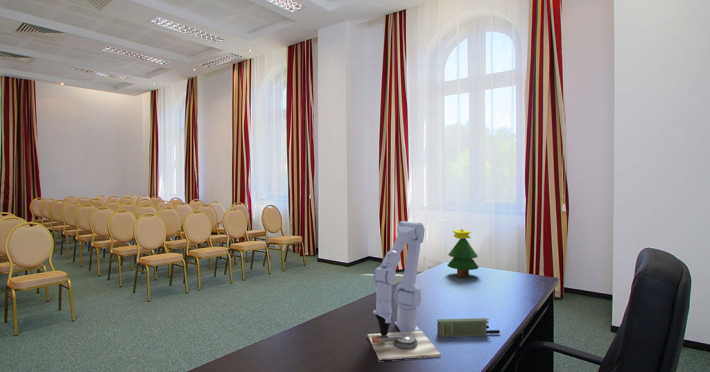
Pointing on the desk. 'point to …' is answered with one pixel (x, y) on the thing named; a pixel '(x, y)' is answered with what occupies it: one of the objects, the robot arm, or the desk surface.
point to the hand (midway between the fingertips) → (383, 334)
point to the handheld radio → (463, 327)
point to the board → (399, 353)
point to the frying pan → (395, 338)
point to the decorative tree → (462, 255)
